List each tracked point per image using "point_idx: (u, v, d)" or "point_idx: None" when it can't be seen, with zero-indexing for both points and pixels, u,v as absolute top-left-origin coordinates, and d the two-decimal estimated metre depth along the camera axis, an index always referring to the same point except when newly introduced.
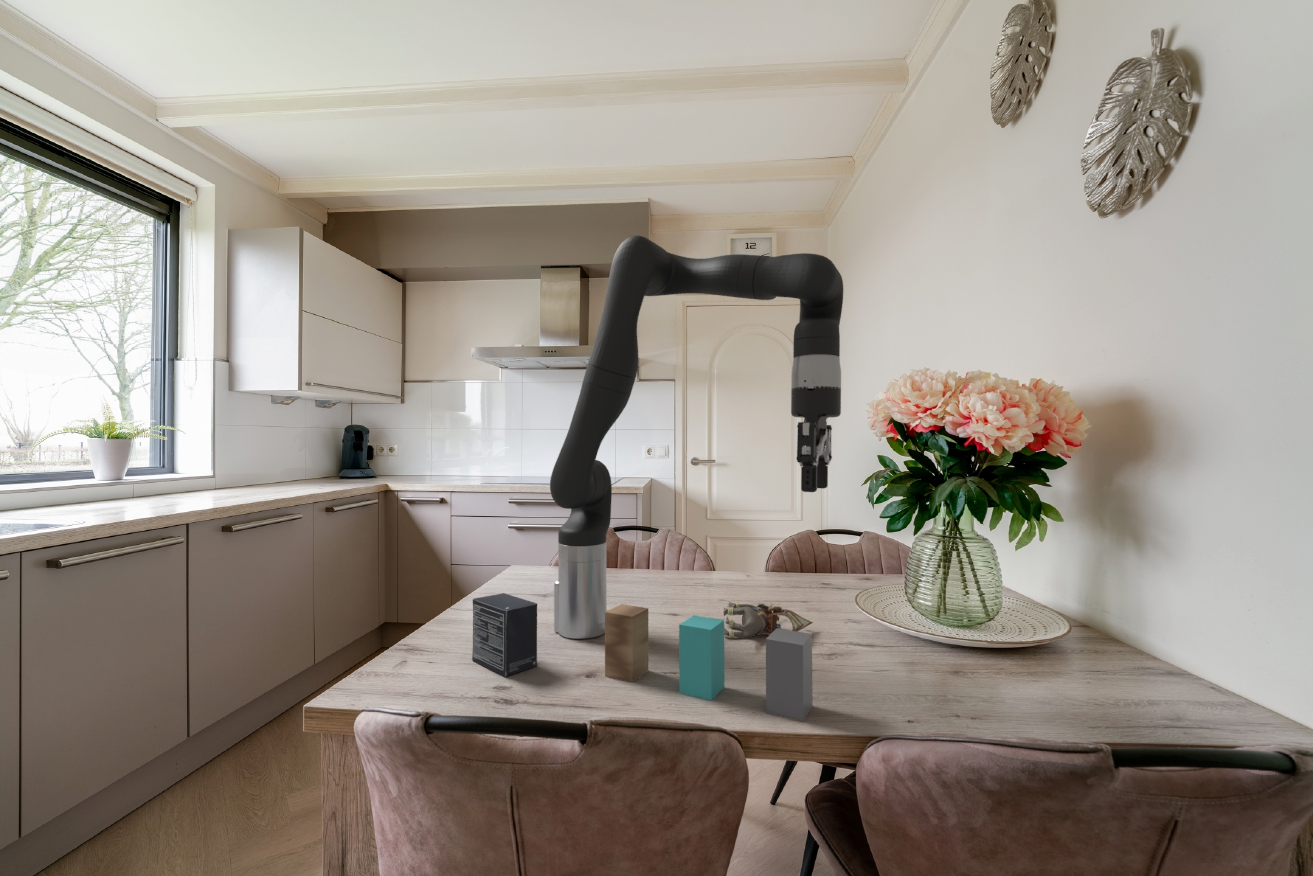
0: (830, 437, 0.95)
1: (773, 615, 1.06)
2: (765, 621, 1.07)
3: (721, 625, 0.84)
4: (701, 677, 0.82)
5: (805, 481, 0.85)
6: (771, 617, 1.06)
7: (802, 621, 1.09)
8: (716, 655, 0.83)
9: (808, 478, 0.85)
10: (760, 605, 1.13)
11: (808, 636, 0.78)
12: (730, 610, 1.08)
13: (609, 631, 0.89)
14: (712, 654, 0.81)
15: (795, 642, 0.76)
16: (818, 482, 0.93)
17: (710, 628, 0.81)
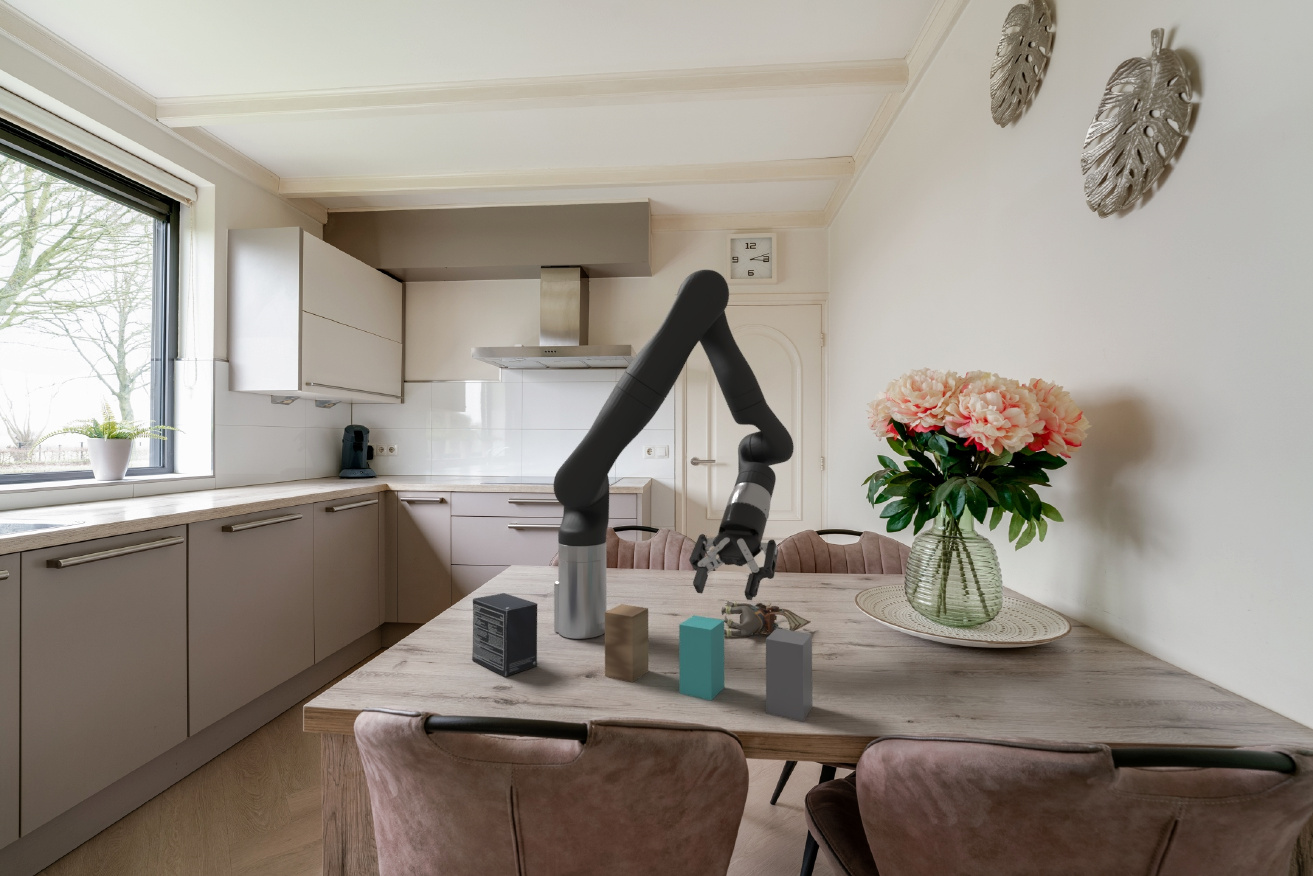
0: None
1: (770, 614, 1.07)
2: (763, 620, 1.07)
3: (721, 625, 0.84)
4: (701, 677, 0.82)
5: (755, 588, 0.90)
6: (768, 616, 1.07)
7: (800, 620, 1.10)
8: (716, 655, 0.83)
9: (757, 587, 0.90)
10: (758, 604, 1.14)
11: (808, 636, 0.78)
12: (728, 609, 1.09)
13: (609, 631, 0.89)
14: (712, 654, 0.81)
15: (795, 642, 0.76)
16: (701, 585, 0.94)
17: (710, 628, 0.81)
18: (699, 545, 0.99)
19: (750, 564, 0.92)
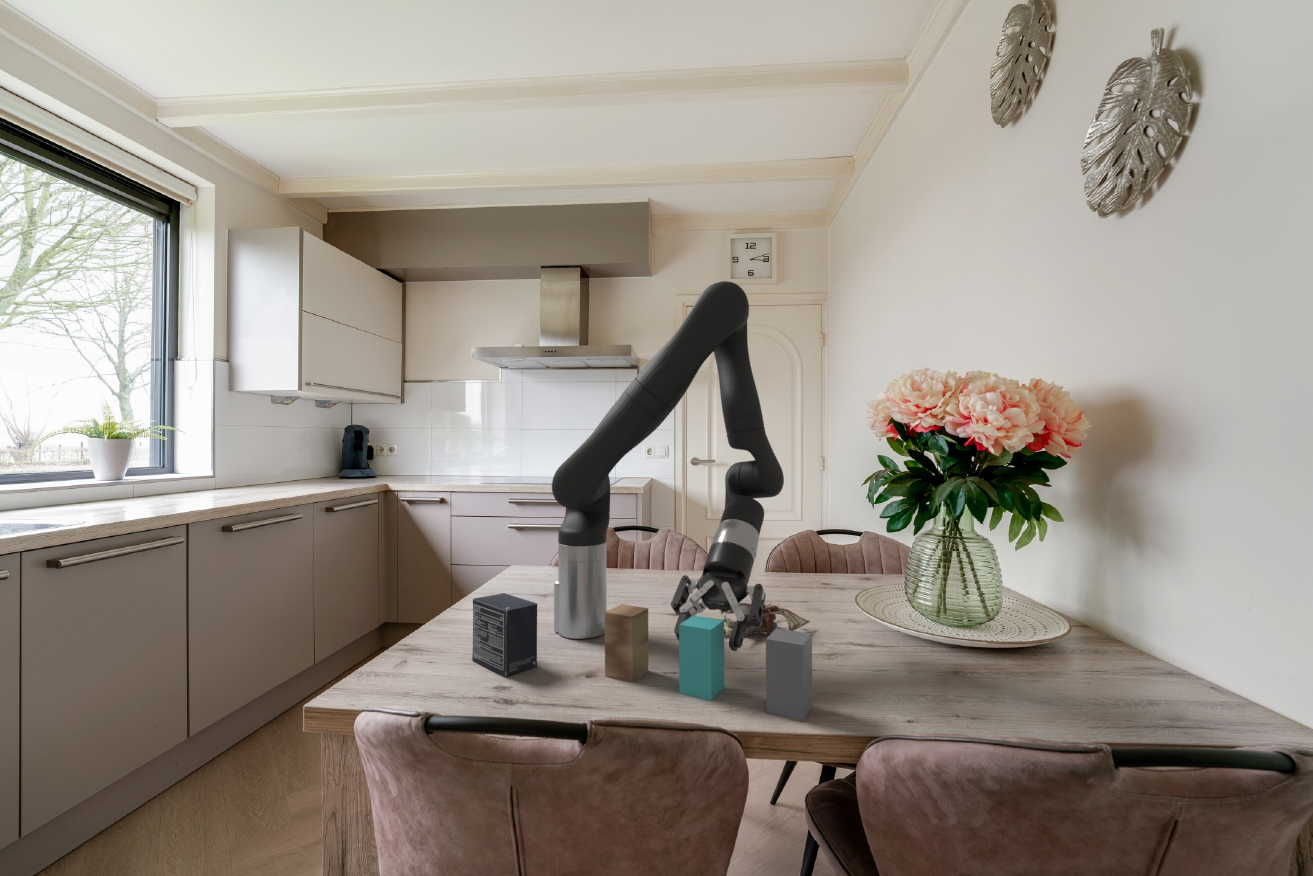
0: None
1: (770, 614, 1.07)
2: (762, 619, 1.07)
3: (721, 625, 0.84)
4: (701, 677, 0.82)
5: (740, 638, 0.83)
6: (768, 616, 1.07)
7: (799, 620, 1.10)
8: (716, 655, 0.83)
9: (742, 636, 0.84)
10: None
11: (808, 636, 0.78)
12: None
13: (609, 631, 0.89)
14: (712, 654, 0.81)
15: (795, 642, 0.76)
16: None
17: (710, 628, 0.81)
18: (681, 588, 0.92)
19: (735, 611, 0.86)
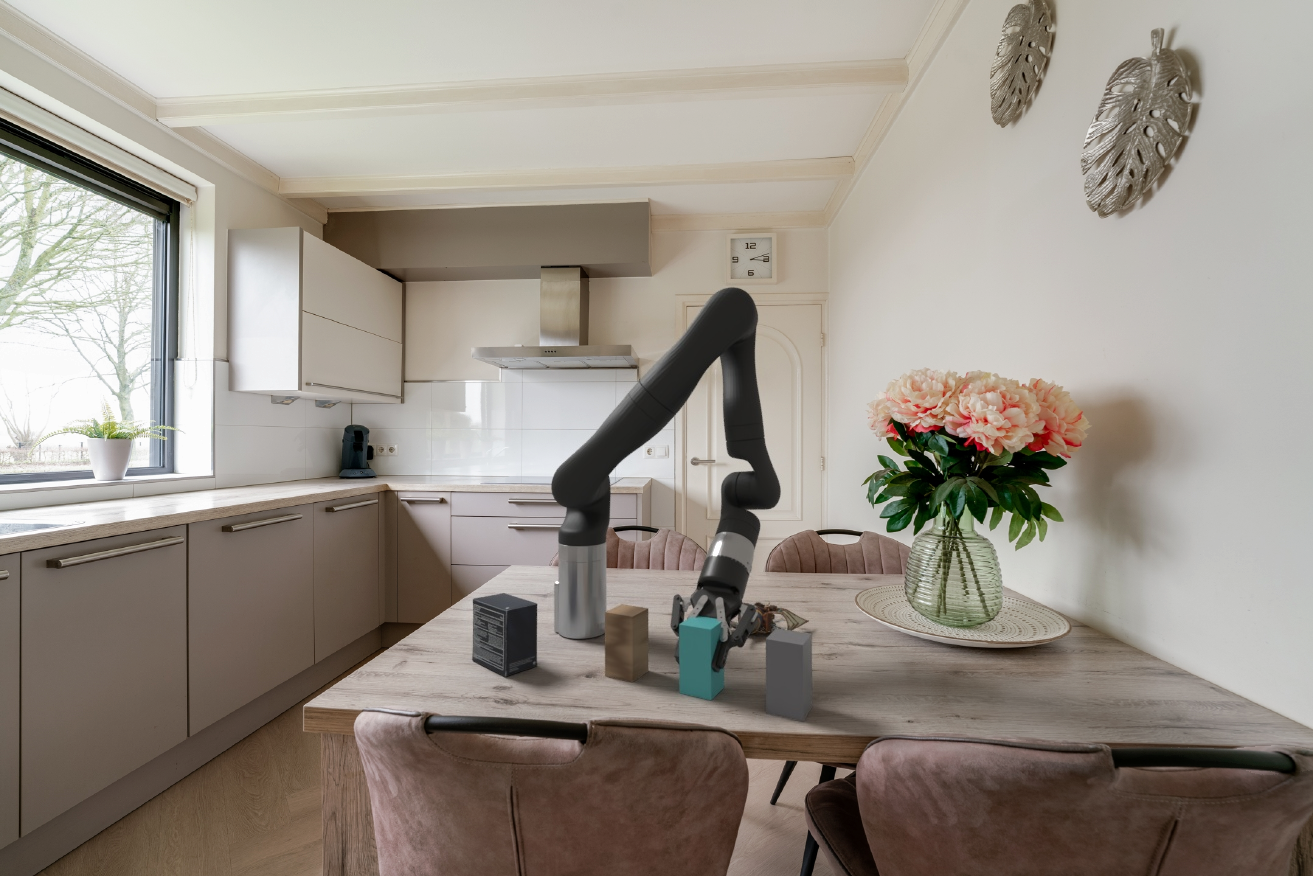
0: None
1: (768, 613, 1.07)
2: (761, 619, 1.08)
3: None
4: (701, 677, 0.82)
5: (723, 659, 0.82)
6: (766, 615, 1.07)
7: (798, 620, 1.10)
8: None
9: (725, 657, 0.82)
10: (757, 603, 1.15)
11: (808, 636, 0.78)
12: None
13: (609, 631, 0.89)
14: (712, 654, 0.81)
15: (795, 642, 0.76)
16: None
17: (710, 628, 0.81)
18: (677, 607, 0.89)
19: (720, 630, 0.84)
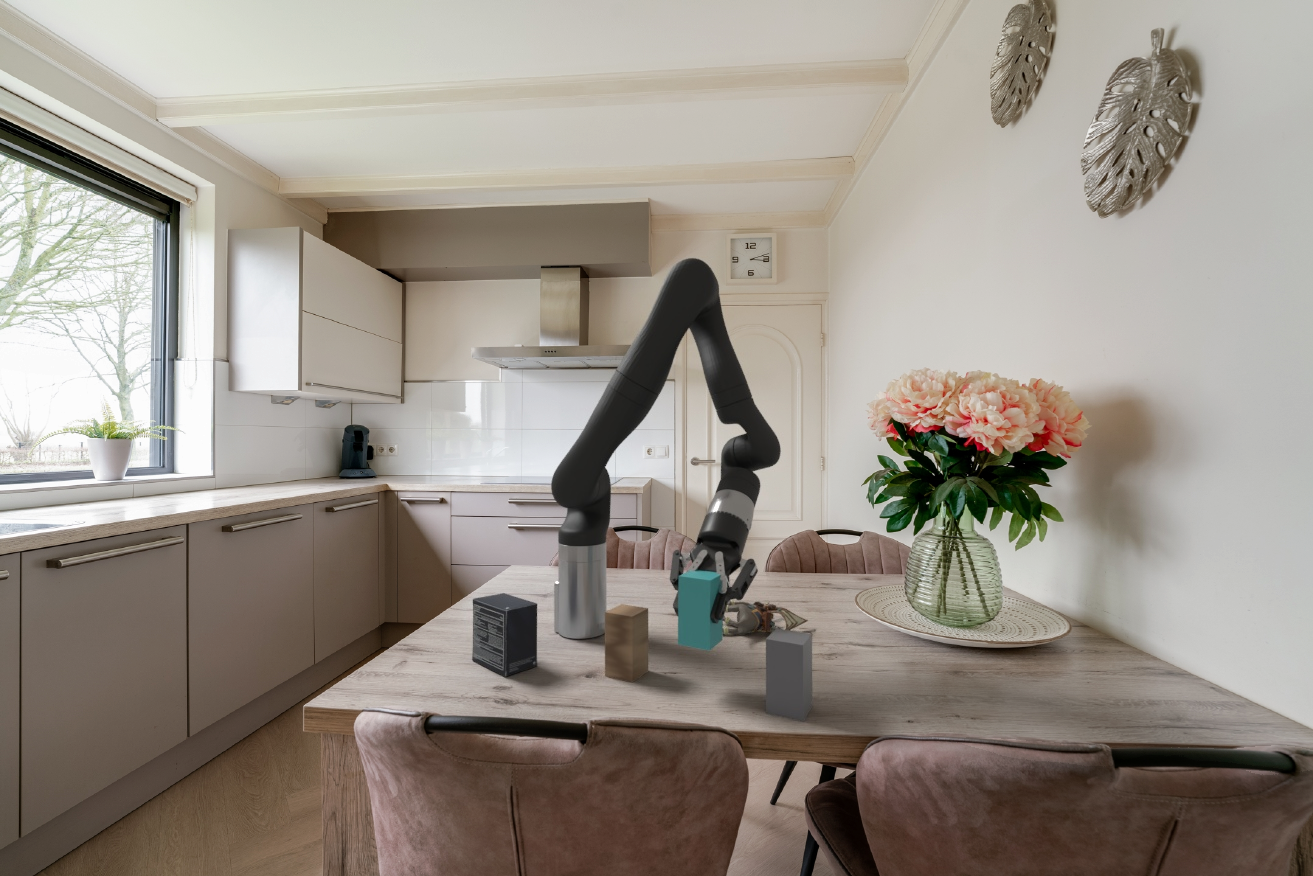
0: None
1: (767, 613, 1.08)
2: (759, 618, 1.08)
3: None
4: (700, 628, 0.82)
5: (722, 610, 0.82)
6: (765, 615, 1.08)
7: (797, 619, 1.10)
8: None
9: (724, 609, 0.82)
10: (756, 603, 1.15)
11: (808, 636, 0.78)
12: None
13: (609, 631, 0.89)
14: (711, 605, 0.82)
15: (795, 642, 0.76)
16: None
17: (709, 579, 0.82)
18: (676, 562, 0.90)
19: (720, 582, 0.84)
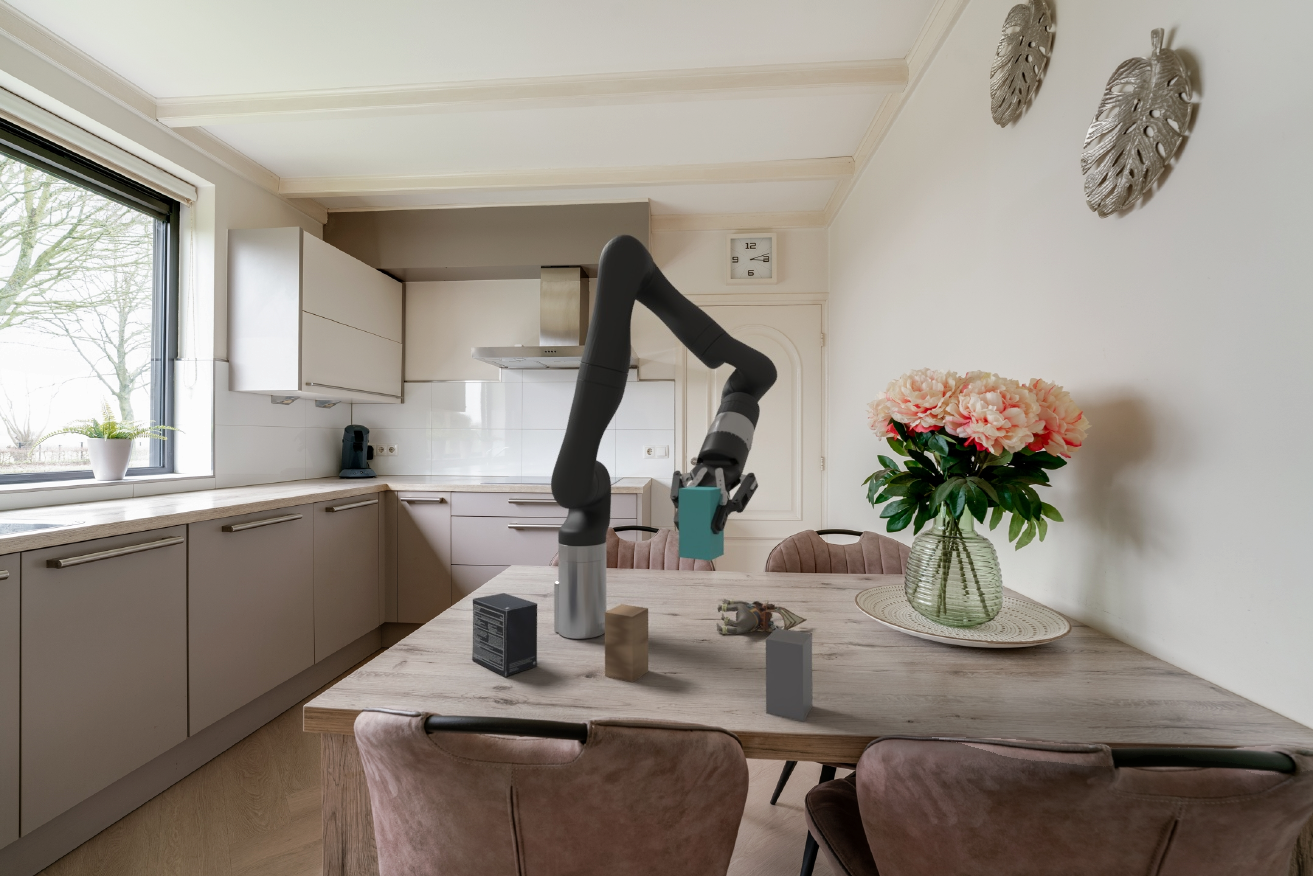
0: None
1: (766, 612, 1.08)
2: (758, 618, 1.09)
3: (720, 491, 0.85)
4: (701, 538, 0.82)
5: (722, 521, 0.82)
6: (764, 614, 1.08)
7: (795, 618, 1.11)
8: None
9: (724, 520, 0.82)
10: (755, 602, 1.15)
11: (808, 636, 0.78)
12: (724, 607, 1.10)
13: (609, 631, 0.89)
14: (711, 515, 0.81)
15: (795, 642, 0.76)
16: None
17: (709, 489, 0.82)
18: (676, 481, 0.90)
19: (720, 495, 0.84)
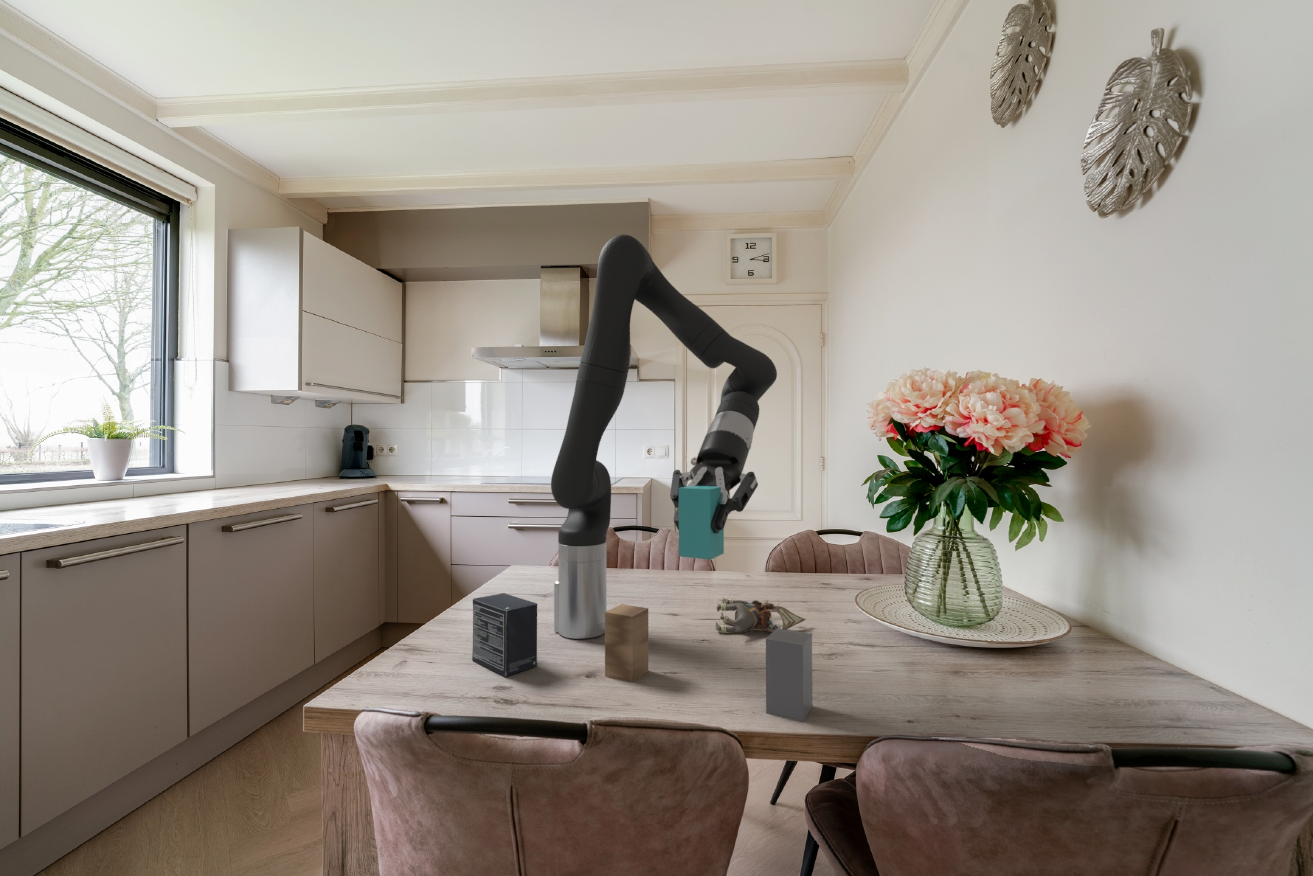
0: None
1: (765, 611, 1.09)
2: (757, 617, 1.09)
3: (720, 490, 0.85)
4: (701, 537, 0.82)
5: (722, 520, 0.82)
6: (763, 613, 1.09)
7: (794, 618, 1.11)
8: None
9: (724, 519, 0.82)
10: (754, 602, 1.16)
11: (808, 636, 0.78)
12: (723, 606, 1.11)
13: (609, 631, 0.89)
14: (711, 514, 0.81)
15: (795, 642, 0.76)
16: None
17: (709, 488, 0.82)
18: (676, 480, 0.90)
19: (720, 495, 0.84)
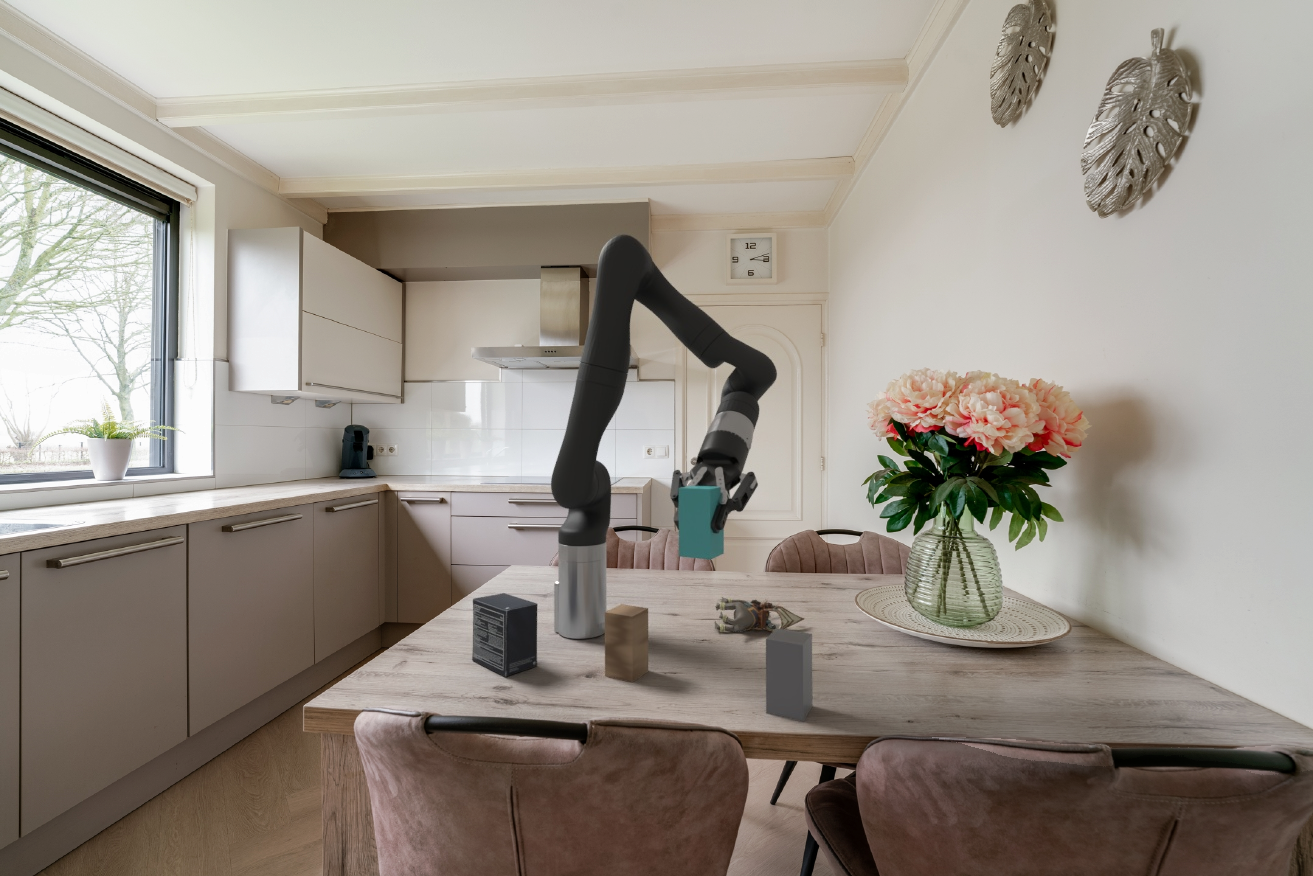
0: None
1: (763, 611, 1.09)
2: (756, 616, 1.10)
3: (720, 490, 0.85)
4: (701, 537, 0.82)
5: (722, 520, 0.82)
6: (761, 613, 1.09)
7: (793, 617, 1.12)
8: None
9: (724, 519, 0.82)
10: (753, 601, 1.16)
11: (808, 636, 0.78)
12: (722, 605, 1.11)
13: (609, 631, 0.89)
14: (711, 514, 0.81)
15: (795, 642, 0.76)
16: None
17: (709, 488, 0.82)
18: (676, 480, 0.90)
19: (720, 495, 0.84)
